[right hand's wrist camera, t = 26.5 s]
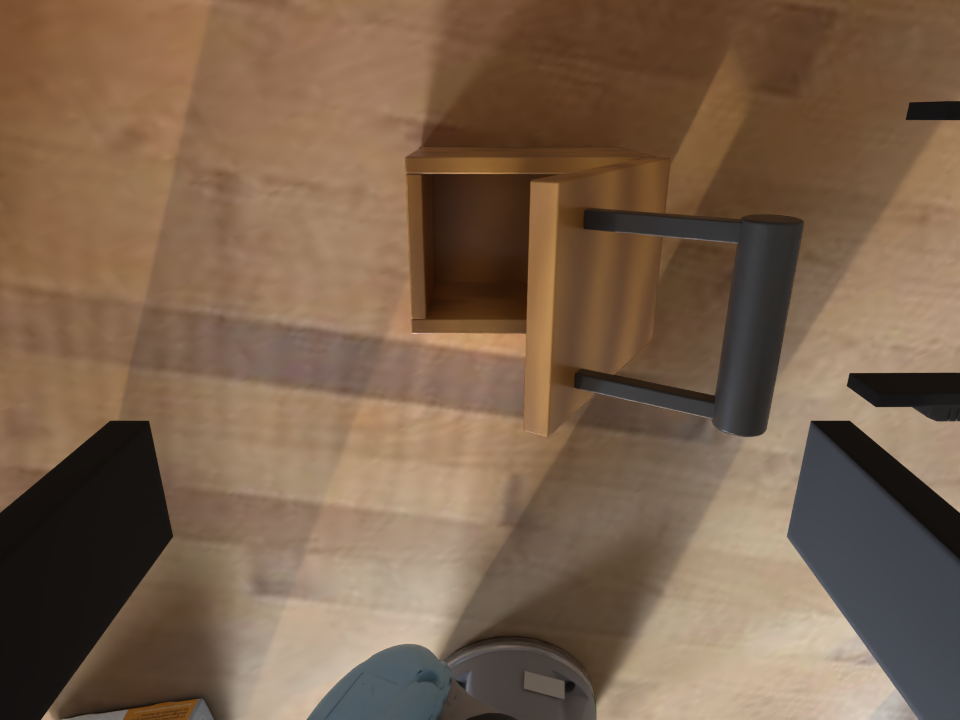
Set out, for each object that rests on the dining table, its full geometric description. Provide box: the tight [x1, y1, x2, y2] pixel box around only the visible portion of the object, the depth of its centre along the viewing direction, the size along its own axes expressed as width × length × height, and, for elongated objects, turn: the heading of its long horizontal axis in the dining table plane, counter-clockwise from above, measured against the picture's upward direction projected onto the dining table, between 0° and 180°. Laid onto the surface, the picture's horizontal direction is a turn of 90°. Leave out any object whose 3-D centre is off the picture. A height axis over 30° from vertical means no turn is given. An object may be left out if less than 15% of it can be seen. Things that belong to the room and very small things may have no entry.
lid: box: [524, 157, 804, 437], centre depth 27 cm, size 13×10×8 cm
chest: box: [405, 147, 656, 334], centre depth 38 cm, size 13×10×9 cm
